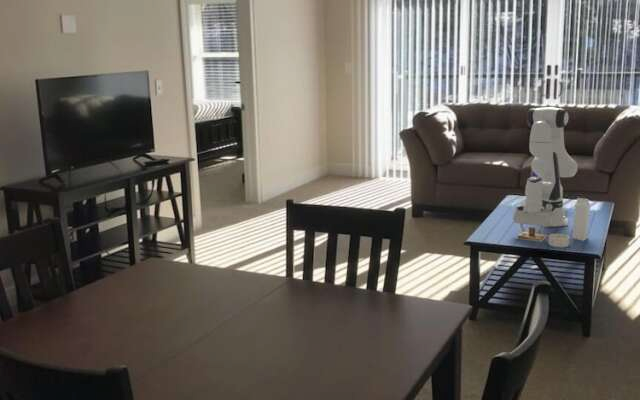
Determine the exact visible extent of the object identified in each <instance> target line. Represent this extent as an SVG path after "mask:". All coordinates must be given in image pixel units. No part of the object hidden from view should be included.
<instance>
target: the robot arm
mask: <svg viewBox="0 0 640 400" xmlns="http://www.w3.org/2000/svg"><path fill="white" fill-rule="evenodd" d="M569 118H570V117H569V113H568V110H567V109H565V108H561V107H559V108H557V107H548V106H547V107H531V108H529V110H528V111H527V113H526V124H527V126H528V127H530V129H531V130H530V134H529V144H528V146H529V148H528V149H529V152H530V154H531V155H532V156H533V157H534V158H533V159H532V161H531V170H533V172H534V173H535V174H536V175H537V176H538V177H531V176H530V177H528V179H527V181H526V184H525V186H524V194H525V195H524V196H525V200H524V203H520V204H517V205H516V206H515V211H514V213H513V216H512V222H513V223H514V224H519V227H520V228H521V233H522V232H525V231H526V228H525V227H524V225H530V226H539V227H540V228H541V229H539V231H538V233H539V234H542V233H543V231H544V229H545V228H550V227H565V226H568V223H569V218H567V217H566V216H565V209H564V200H563V193H564V192H563V191H564V189H563V186H562V181H561V182H560V177H561V178H572V177H574V176H575V175H576V174H577V172H578V169H579V168H578V163H577V162H576V160H574V158H572V157H571V155H569V153H568V152H567V150H566V147H565V146H566V145H565V138H564V137H565V135H564V134H565V132H564V127H566V125H568V122H569Z"/></svg>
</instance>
